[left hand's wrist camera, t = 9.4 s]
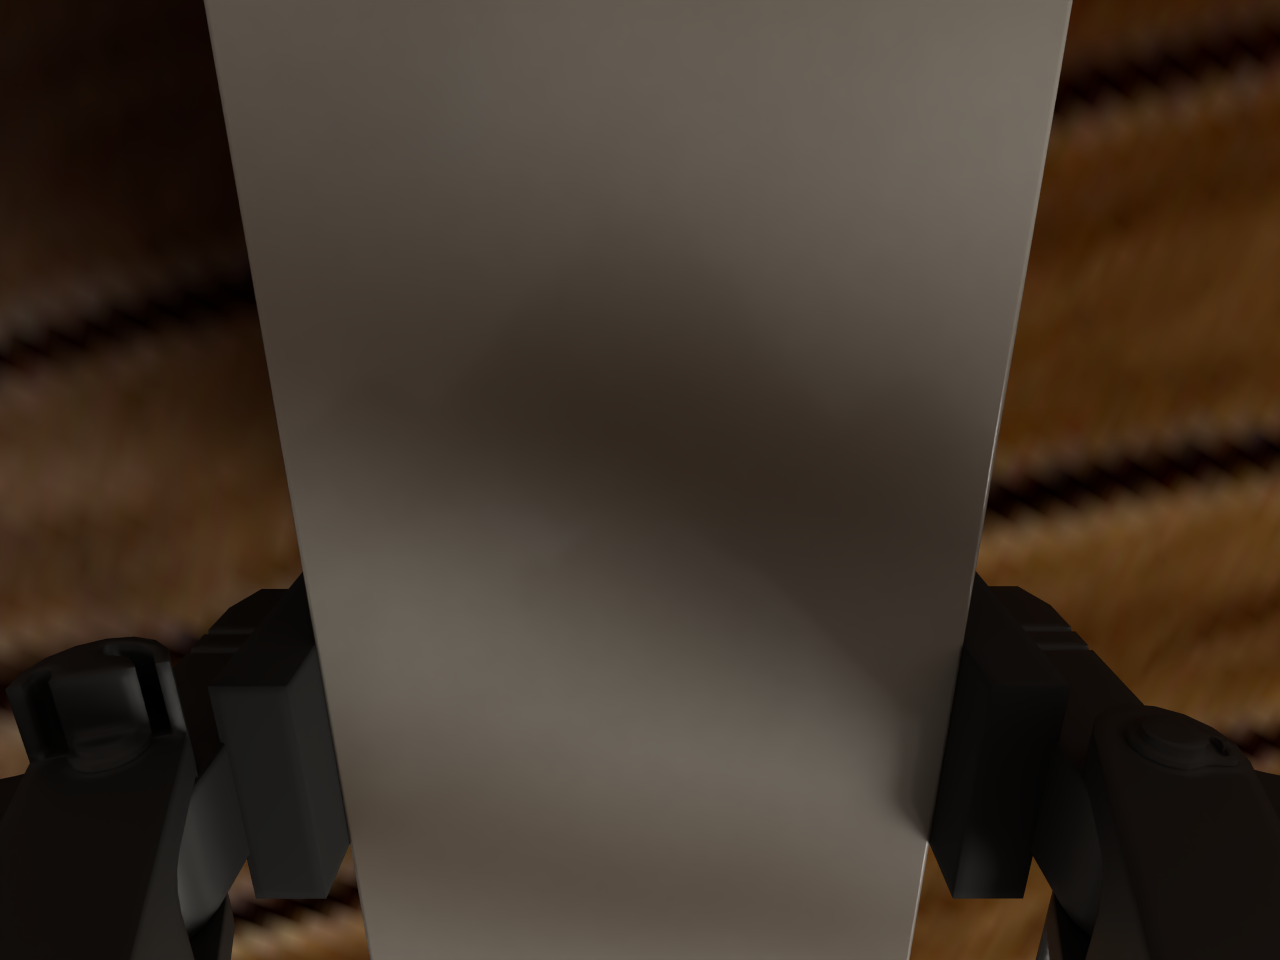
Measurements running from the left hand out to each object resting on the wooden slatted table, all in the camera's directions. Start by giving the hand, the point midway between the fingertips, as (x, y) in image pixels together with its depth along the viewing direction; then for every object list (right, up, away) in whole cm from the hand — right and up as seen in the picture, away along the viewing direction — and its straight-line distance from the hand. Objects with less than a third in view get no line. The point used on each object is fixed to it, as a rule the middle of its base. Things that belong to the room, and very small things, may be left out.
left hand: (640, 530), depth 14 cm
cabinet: (0, +6, +3) cm, 6 cm away
